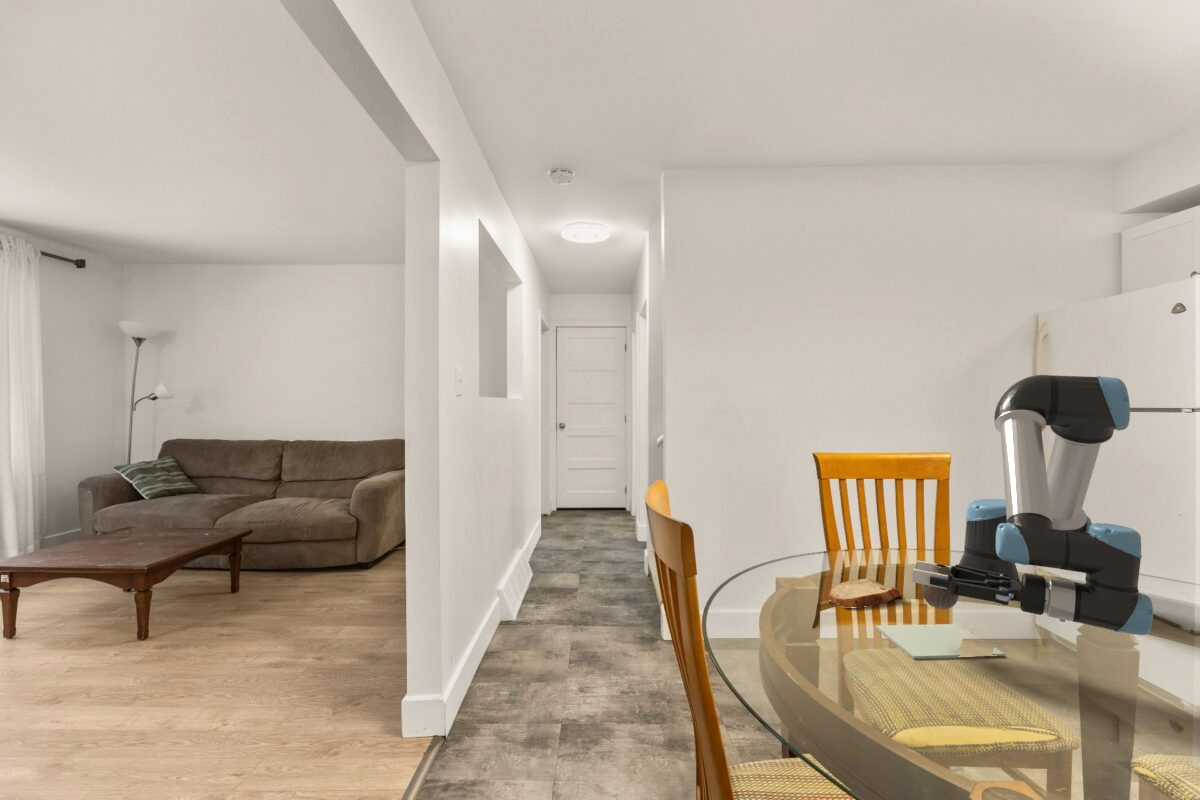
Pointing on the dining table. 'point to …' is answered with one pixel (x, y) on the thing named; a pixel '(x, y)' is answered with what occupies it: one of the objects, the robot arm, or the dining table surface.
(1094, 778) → the dining table surface
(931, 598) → the vase
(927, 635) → the mat
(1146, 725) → the dining table surface
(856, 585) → the slice of bread
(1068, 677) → the dining table surface
